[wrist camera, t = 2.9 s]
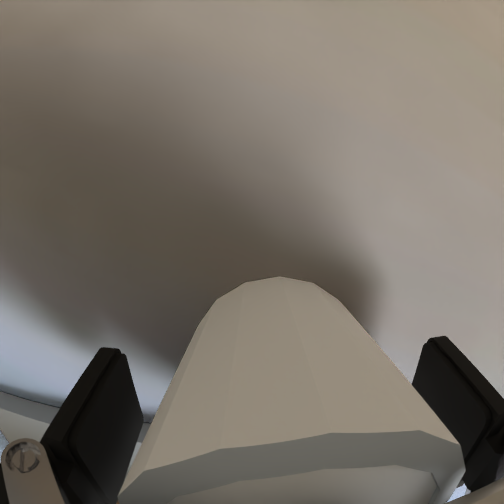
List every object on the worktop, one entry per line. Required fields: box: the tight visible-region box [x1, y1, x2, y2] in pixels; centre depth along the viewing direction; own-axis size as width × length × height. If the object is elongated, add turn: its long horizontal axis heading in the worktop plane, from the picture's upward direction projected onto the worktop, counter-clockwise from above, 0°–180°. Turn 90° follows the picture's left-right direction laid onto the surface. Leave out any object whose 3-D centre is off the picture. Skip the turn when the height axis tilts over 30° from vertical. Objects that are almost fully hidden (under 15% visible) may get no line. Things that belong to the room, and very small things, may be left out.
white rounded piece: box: [117, 276, 466, 504], centre depth 7 cm, size 7×7×7 cm
